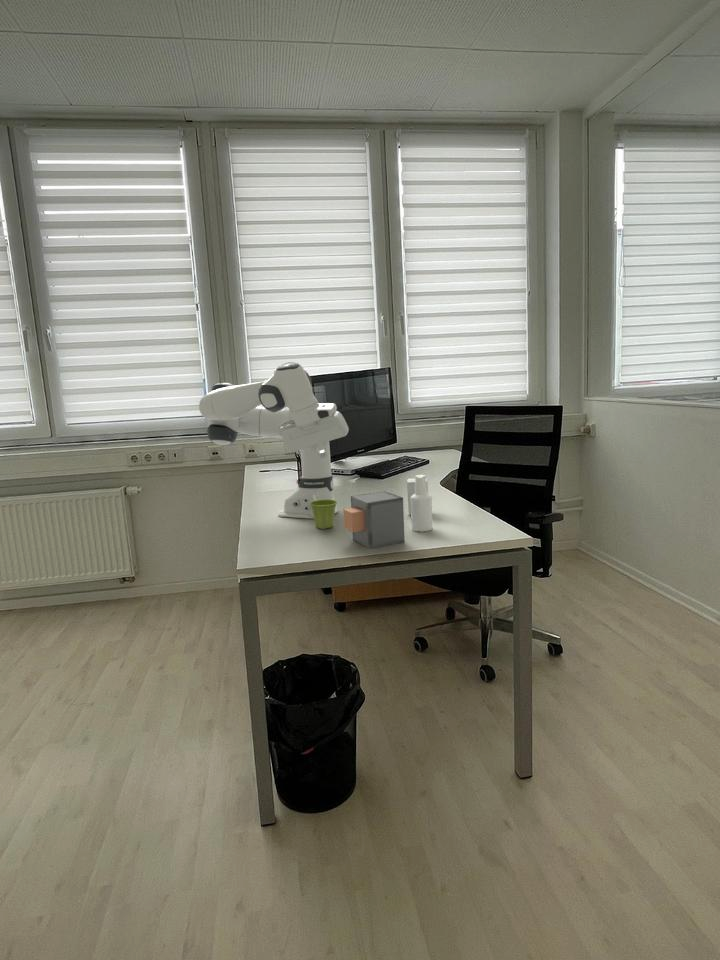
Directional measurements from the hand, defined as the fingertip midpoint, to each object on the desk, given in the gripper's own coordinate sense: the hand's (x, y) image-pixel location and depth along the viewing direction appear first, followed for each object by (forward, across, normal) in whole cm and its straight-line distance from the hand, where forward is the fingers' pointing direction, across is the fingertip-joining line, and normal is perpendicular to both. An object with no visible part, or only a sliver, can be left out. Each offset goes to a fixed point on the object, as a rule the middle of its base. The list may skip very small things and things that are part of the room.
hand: (324, 456), depth 181 cm
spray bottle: (+37, +19, +9) cm, 42 cm away
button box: (+30, +7, -4) cm, 31 cm away
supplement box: (+41, +14, +31) cm, 53 cm away
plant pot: (+28, -14, +13) cm, 34 cm away
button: (+23, +3, -7) cm, 24 cm away
